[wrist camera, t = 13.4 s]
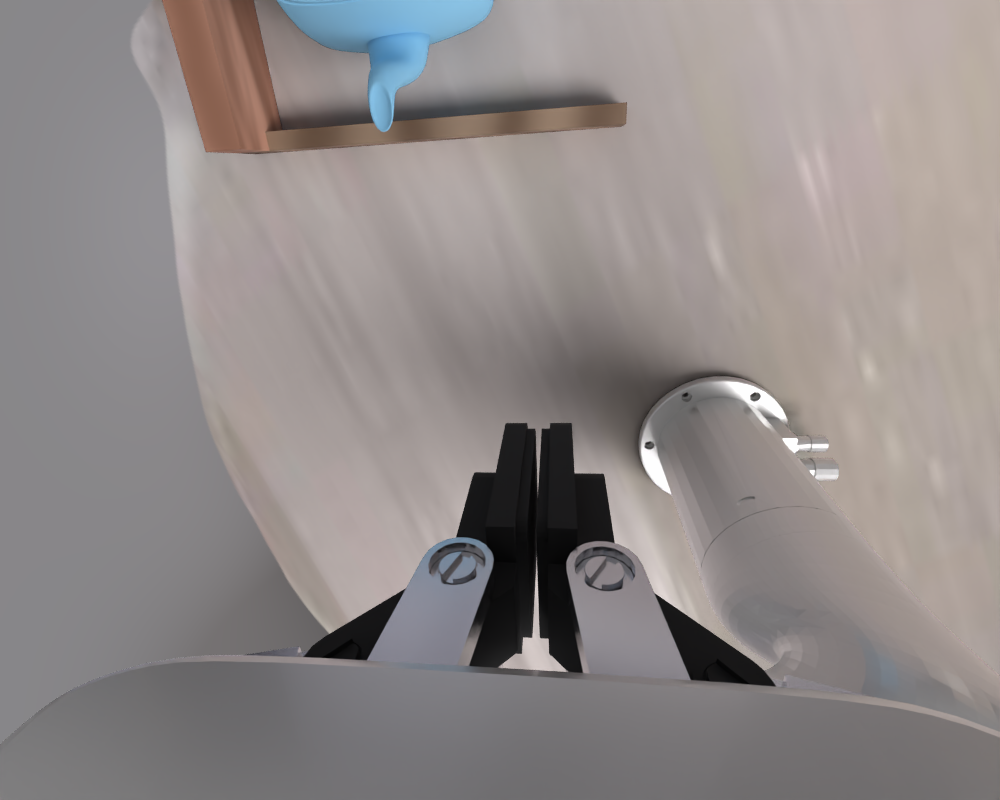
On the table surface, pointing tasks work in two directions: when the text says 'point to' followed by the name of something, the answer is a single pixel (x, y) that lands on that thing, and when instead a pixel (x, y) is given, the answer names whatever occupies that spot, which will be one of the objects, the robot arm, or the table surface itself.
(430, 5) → the teapot
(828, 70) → the table surface
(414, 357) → the table surface
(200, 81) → the guide track
